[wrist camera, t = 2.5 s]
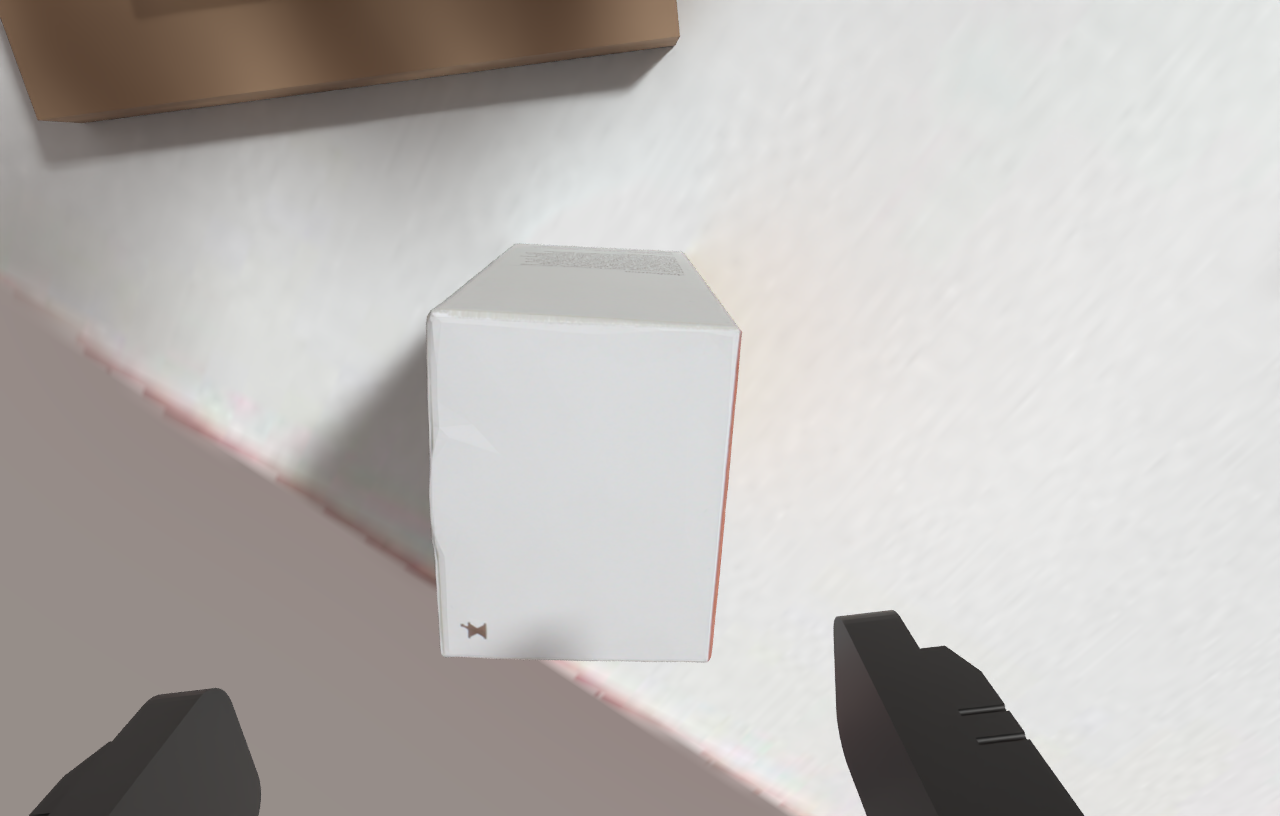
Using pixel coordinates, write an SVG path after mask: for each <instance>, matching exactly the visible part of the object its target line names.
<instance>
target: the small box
mask: <svg viewBox="0 0 1280 816" xmlns="http://www.w3.org/2000/svg"><path fill="white" fill-rule="evenodd" d="M741 335H742V331H741V330H740V328H739V327H738V326H737V325H736V323H735V322H734V320H733V319H732V318H731V316H730V315H729V314H728V312H727V311H726V310H725V308H724V307H723V305H722V304H721V303H720V301H719V300H718V298H717V297H716V296H715V294H714V293H713V292H712V291H711V289H710V287H709V286H708V285H707V284H706V282H705V281H704V279H703V278H702V277H701V275H700V274H699V272H698V271H697V270H696V268H695V267H694V266H693V264H692V263H691V262H690V260H689V259H688V258H687V256H686V255H685V254H684V253H683V252H679V251H659V250H638V249H617V248H598V247H579V246H558V245H538V244H514V245H513V246H512V247H510V248H509V249H508V250H507V251H505V252H504V253H503V254H502V255H500V256H499V257H498V258H497V259H495V260H494V261H493V262H491V263H490V264H489V265H488V266H487V267H486V268H485V269H483V270H482V271H481V272H479V273H478V274H477V275H475V276H474V277H473V278H472V279H470V280H469V281H468V282H467V283H466V284H464V285H463V286H462V287H461V288H460V289H458V290H457V291H456V292H455V293H453V294H452V295H451V296H450V297H448V298H447V299H446V300H445V301H443V302H442V303H441V304H439V305H438V306H436V307H435V308H434V309H432V310H431V311H430V313H429V314H428V316H427V322H426V350H427V394H428V421H429V461H430V476H429V504H430V518H431V536H432V543H433V549H434V558H435V570H436V585H437V604H438V618H439V637H440V651H441V654H442V656H444V657H474V658H494V659H527V660H528V659H530V660H573V661H638V662H708V661H709V660H710V658H711V653H712V645H713V635H714V624H715V614H716V605H717V595H718V585H719V575H720V565H721V554H722V543H723V532H724V521H725V509H726V499H727V490H728V480H729V468H730V457H731V445H732V434H733V423H734V412H735V402H736V393H737V382H738V370H739V359H740V347H741Z"/></svg>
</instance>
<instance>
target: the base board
mask: <svg viewBox="0 0 1280 816" xmlns="http://www.w3.org/2000/svg"><path fill="white" fill-rule="evenodd" d="M0 18H1V20H2V23H3V26H4V29H5V31H6V34H7V37H8V40H9V42H10V45H11V48H12V51H13V53H14V56H15V59H16V62H17V64H18V67H19V70H20V73H21V75H22V78H23V81H24V84H25V86H26V89H27V92H28V95H29V97H30V100H31V103H32V106H33V108H34V111H35V114H36V117H37V119H38V120H42V121H58V122H74V123H87V122H94V121H102V120H110V119H117V118H125V117H133V116H140V115H148V114H155V113H163V112H171V111H178V110H186V109H194V108H201V107H209V106H217V105H224V104H232V103H239V102H247V101H255V100H262V99H270V98H278V97H285V96H293V95H301V94H308V93H316V92H324V91H331V90H339V89H346V88H354V87H362V86H369V85H377V84H385V83H392V82H400V81H408V80H415V79H423V78H431V77H438V76H446V75H453V74H461V73H469V72H476V71H484V70H492V69H499V68H507V67H515V66H522V65H530V64H538V63H545V62H553V61H560V60H568V59H576V58H583V57H591V56H599V55H606V54H614V53H622V52H629V51H637V50H644V49H652V48H660V47H667V46H675V45H676V43H677V41H678V39H679V37H680V34H679V23H678V12H677V2H676V0H0Z"/></svg>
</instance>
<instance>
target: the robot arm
mask: <svg viewBox="0 0 1280 816" xmlns="http://www.w3.org/2000/svg"><path fill="white" fill-rule="evenodd" d="M834 659H835V687H836V712H837V722H838V729H839V735H840V740H841V744H842V748H843V752H844V756H845V759H846V762H847V765H848V768H849V770H850V773H851V776H852V778H853V781H854V783H855V786H856V789H857V791H858V794H859V796H860V799H861V802H862V804H863V807H864V810H865V812H866V815H867V816H1084V815H1083V813H1082V812H1081V810H1080V809H1079V808H1078V806H1077V805H1076V803H1075V802H1074V801H1073V799H1072V798H1071V796H1070V795H1069V794H1068V792H1067V791H1066V789H1065V788H1064V787H1063V785H1062V784H1061V782H1060V781H1059V780H1058V778H1057V777H1056V775H1055V774H1054V773H1053V771H1052V770H1051V768H1050V767H1049V766H1048V764H1047V763H1046V761H1045V760H1044V759H1043V757H1042V756H1041V754H1040V753H1039V752H1038V750H1037V749H1036V747H1035V746H1034V745H1033V743H1032V742H1031V740H1030V739H1029V740H1027V739H1026V737H1025V732H1024V731H1023V729H1022V728H1021V726H1020V725H1019V724H1018V722H1017V721H1016V719H1015V718H1014V717H1013V715H1012V714H1011V712H1010V711H1006V709H1005V705H1004V703H1003V701H1002V700H1001V698H1000V697H999V696H998V694H997V693H996V691H995V690H994V689H993V687H992V686H991V684H990V683H989V682H988V680H987V679H986V677H985V676H984V675H983V673H982V672H981V671H980V670H979V669H977V668H976V667H974V666H973V665H971V664H970V663H969V662H967V661H966V660H964V659H963V658H962V657H960V656H959V655H957V654H956V653H954V652H953V651H952V650H950V649H949V648H947V647H946V646H939V647H930V648H922V649H920V648H919V647H918V645H917V643H916V642H915V640H914V639H913V637H912V635H911V634H910V632H909V630H908V629H907V627H906V626H905V624H904V622H903V621H902V619H901V618H900V616H899V615H898V614H897V613H896V612H895V611H894V610H889V611H881V612H872V613H864V614H855V615H847V616H838V617H836V618H835V620H834ZM260 802H261V788H260V781H259V777H258V774H257V771H256V768H255V765H254V763H253V760H252V757H251V754H250V751H249V749H248V746H247V743H246V740H245V738H244V735H243V732H242V729H241V727H240V724H239V721H238V718H237V716H236V713H235V710H234V707H233V705H232V702H231V700H230V698H229V696H228V695H227V693H226V692H224V691H223V690H221V689H219V688H212V689H204V690H195V691H187V692H178V693H169V694H161V695H157V696H155V697H152V698H151V699H150V700H148V701H147V702H146V703H145V704H144V705H143V706H142V707H141V709H140V710H139V711H138V712H137V713H136V714H135V716H134V717H133V718H132V719H131V720H130V721H129V723H128V724H127V725H126V726H125V727H124V728H123V729H122V731H121V732H120V733H119V734H118V735H117V736H116V738H115V739H114V740H113V741H112V742H108V743H107V744H106V745H105V746H103V747H102V748H101V749H99V750H98V751H97V752H95V753H94V754H93V755H91V756H90V757H89V758H87V759H86V760H85V761H83V762H82V763H81V764H79V765H78V766H77V767H76V768H74V769H73V770H72V771H70V772H69V773H68V774H66V775H65V776H64V777H63V778H62V779H61V780H60V781H59V782H58V783H57V785H56V786H55V787H54V788H53V789H52V790H51V791H50V792H49V794H48V795H47V796H46V797H45V798H44V799H43V800H42V801H41V802H40V804H39V805H38V806H37V807H36V808H35V809H34V810H33V812H32V813H31V814H30V815H29V816H258V815H259V809H260Z"/></svg>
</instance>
